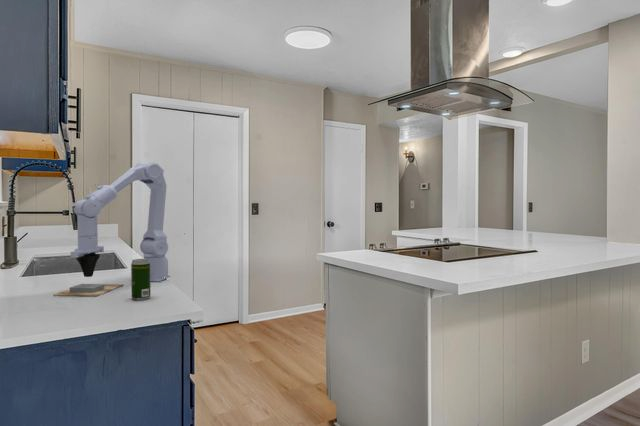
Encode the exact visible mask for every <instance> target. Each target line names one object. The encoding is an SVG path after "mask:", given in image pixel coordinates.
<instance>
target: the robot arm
mask: <svg viewBox="0 0 640 426" xmlns="http://www.w3.org/2000/svg"><path fill="white" fill-rule="evenodd" d="M135 181H140V182H142V183H143V184H145V185H146V186H147V187H148V188H149V189H150V195H149V196H150V197H149V206H148V219H147V230H146V231H145V233H144V234H143V236H142V240H141V242H140V245H139V249H140V251H141V252H142V253H143V259H149V261H150V282H161V281H165V280H166V279H168V278H171V275H170V274H169V260H168V258H167V256H166V254H167V253H168V251H169V244H168V240H167V238H168V237H167V235H166V234H165V232H164V222H165V221H164V219H165V211H166V209H165V208H166V197H167V183H166V179H165V176H164V169H163V168H162V166H160V164H158V163H156V162H147V163H137V164H135V165H134V166H132V167H130V168H129V169H128V170H127V171H126V172H124V174H122V175H121V176H120V177H119V178H117V179H116V180H115V181H114V182H111V184H110V185H108V184H104V185H99V186H97V189H96V190H95V191H93V192H92V193H91V194H86V196H85V199H80V200H78V201H77V202H76V203H75V206H74V207H73V211H74V214H75V215H76V216H77V248H75V249H74V250H73V251H70V259H76V261H77V262H78V264H79V266H80V268H81V270H82V273H83V276H84V278H92V277H93V276H94V272H95V269H96V264H97V262H98V260H99V259H100V256H101V255H100V253H104V252H105V250H104V245H103V246H102V245H99V244H98V242H99V240H98V239H99V238H98V237H99V235H98V233H99V232H98V216H99V215H100V214H101V211H102V209H103V208H104V207H106V206H107V205H109V204H110V203H111V202H113V201H114V200H115V199H117V195H118V192H120V191H122V190H123V189H125V188H126V187H127V186H129V185H131V184H132V183H133V182H135ZM98 245H99V246H98ZM98 253H99V254H98ZM164 277H165V278H166V279H165V278H164Z"/></svg>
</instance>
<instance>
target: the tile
mask: <svg viewBox="0 0 640 426" xmlns="http://www.w3.org/2000/svg"><path fill="white" fill-rule="evenodd" d="M104 284H105V283H79V284H77V285H73V286H71V287H69V289H70V292H82V293H94V292H97V291H99V290H102V289H104Z"/></svg>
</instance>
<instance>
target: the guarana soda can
mask: <svg viewBox="0 0 640 426" xmlns="http://www.w3.org/2000/svg"><path fill="white" fill-rule="evenodd" d="M130 263H131V264H130V265H131V267H130V271H131V272H130V273H131V274H130V277H131V278H130V279H131V281H130V283H131V284H130V285H131V298H132V300H133V301H145V300H149V299H150V297H151V281H150V261H149V259H144V258H136V259H132V260H131V262H130Z"/></svg>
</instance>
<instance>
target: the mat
mask: <svg viewBox="0 0 640 426" xmlns="http://www.w3.org/2000/svg"><path fill="white" fill-rule="evenodd" d="M103 284H104V289H102V290H99V291H97V292H94V293H82V292H70V288H69V289H66V290H62V291H60V292H57V293H54V294H53V295H52V296H53V297H87V298H89V297H90V298H91V297H99V296H101V295H103V294H106V293H110V292H111V291H114V290H116V289H119V288H121V287H124V284H123V283H122V284H119V283H118V284H117V283H116V284H115V283H103Z"/></svg>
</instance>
